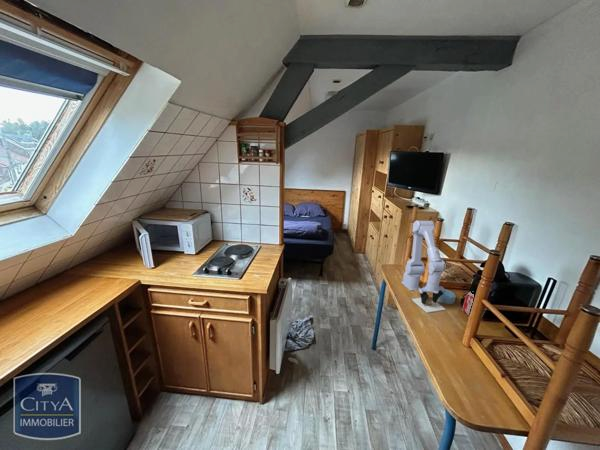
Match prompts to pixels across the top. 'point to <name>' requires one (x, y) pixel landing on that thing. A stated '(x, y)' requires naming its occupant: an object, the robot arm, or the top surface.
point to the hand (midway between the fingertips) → (428, 302)
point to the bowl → (447, 297)
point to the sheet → (428, 305)
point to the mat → (429, 312)
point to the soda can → (468, 303)
